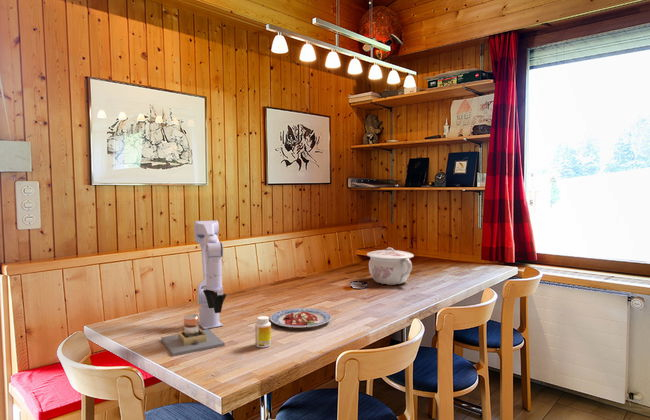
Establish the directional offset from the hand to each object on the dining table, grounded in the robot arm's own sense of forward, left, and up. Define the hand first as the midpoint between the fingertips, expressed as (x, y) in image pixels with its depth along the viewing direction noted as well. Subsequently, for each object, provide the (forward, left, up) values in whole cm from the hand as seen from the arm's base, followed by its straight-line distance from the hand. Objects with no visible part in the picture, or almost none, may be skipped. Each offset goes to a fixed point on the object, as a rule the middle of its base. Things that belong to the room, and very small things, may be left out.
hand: (214, 310), depth 169 cm
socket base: (+1, -9, -10) cm, 14 cm away
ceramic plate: (0, +37, -11) cm, 39 cm away
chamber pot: (-35, +116, -11) cm, 121 cm away
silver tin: (+1, -9, -9) cm, 13 cm away
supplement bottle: (+17, +12, -11) cm, 24 cm away
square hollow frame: (+1, -9, -10) cm, 14 cm away
